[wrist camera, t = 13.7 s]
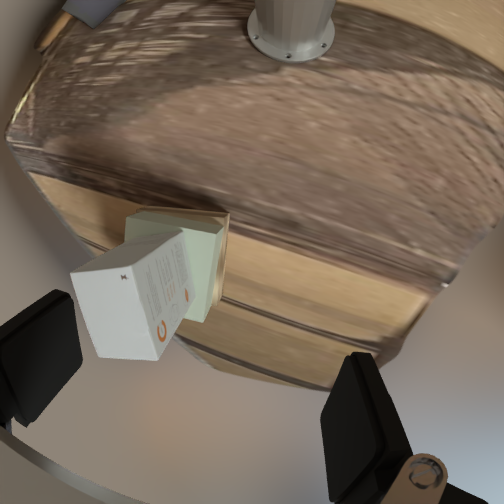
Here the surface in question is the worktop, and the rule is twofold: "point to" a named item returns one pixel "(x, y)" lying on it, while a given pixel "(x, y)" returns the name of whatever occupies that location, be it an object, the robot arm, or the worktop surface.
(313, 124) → the worktop surface
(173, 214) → the tower base
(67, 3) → the bluetooth speaker
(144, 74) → the worktop surface
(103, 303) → the small box
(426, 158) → the worktop surface
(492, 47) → the worktop surface
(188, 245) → the tower top
